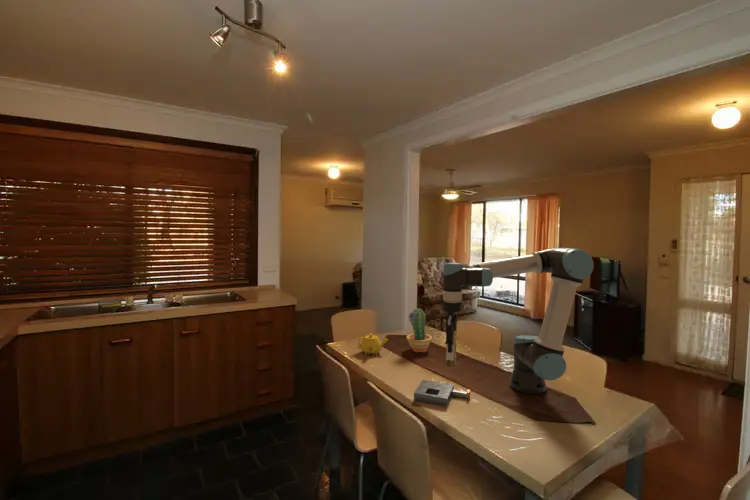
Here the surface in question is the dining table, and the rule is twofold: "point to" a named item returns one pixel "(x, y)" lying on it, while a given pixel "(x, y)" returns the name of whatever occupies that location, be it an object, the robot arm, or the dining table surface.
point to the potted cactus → (418, 331)
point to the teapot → (371, 344)
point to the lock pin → (461, 393)
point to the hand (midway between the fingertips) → (451, 357)
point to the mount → (434, 393)
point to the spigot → (453, 362)
